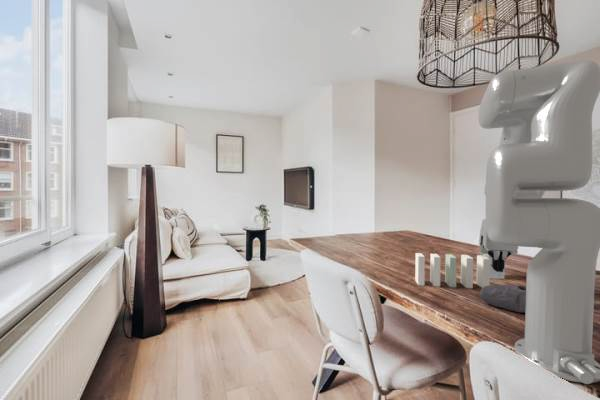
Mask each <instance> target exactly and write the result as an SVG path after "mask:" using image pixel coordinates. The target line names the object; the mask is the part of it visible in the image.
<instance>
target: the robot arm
mask: <svg viewBox="0 0 600 400" xmlns="http://www.w3.org/2000/svg"><path fill="white" fill-rule="evenodd" d="M599 95H600V65H599V64H598V63H597V62H595V61H593V60H576V61H567V62H559V63H552V64H545V65H540V66H539V65H538V66H534V67H526V68H525V67H524V68H518V69H511V70H507V71H502V72H499V73H497V74H495V75H494V76H493V77H492V78H491V80H490V81H489V83H488V86H487V88H486V90H485V92H484V95H483V97H482V99H481V101H480V104H479V110H478V123H479V126H480V127H481V128H483V129H488V130H490V129H491V130H492V129H501V128H502V132H501V136H500V139H499V140H500V141H499V145H498V146H497V147H495V148H494V149H493V150H492V151H491V152H490V154H489V156H488V159H487V162H486V168H485V169H486V170H485V172H486V173H485V186H484V195H485V219H484V218H483V219H482V221H481V225H480V230H479V239H478V244H479V247H480V249H479V252H481V254H482V253H485V254H488V255H490V256H491V258H492V268H493V269H494V270H495V271H497V272H503V269H504V264H505V262H506V260H507V259H508V258H509V257H510V256H512V255H518V254H519V253H518V252H519V250H518V249H519V247H523V248H524V247H527V248H538V249H540V250H539V252H537V253H536V254H535V256H533V258H532V259H531V260H530V261H529V263H528V266H527V268H526V281H525V282H526V284H525V287H526V310H525V314H524V315H525V316H524V317H525V318H524V319H525V320H524V338H521V339H519V340H517V341H516V342H515V343H514V351H515V354H516V353H517V354H519V355H521V356H523V357H524V358H526V359H528V360H529V361H531V362H533V363H535V364H537V365H539V366H541V367H543V368H545V369H546V370H548V371H550V372H552V373H554V374H555V375H557V376H559V377H561V378H563V379H562V380H565V381H569V382H574V383H583V384H586V385H589V384H593V383H599V382H600V363H599V362H597V360H595V356H596V355H595V354H593V352H592V350H593V331H594V330H593V329H594V310H595V309H594V307H595V288H596V287H595V286H596V272H597V264H598V263H597V262H598V257H599V252H600V206H598V205H596V204H595V203H593V202H590V201H587V200H584V199H578V198H571V197H570V198H569V197H568V198H566V197H565V198H564V197H543V196H544V195H545V192H562V191H563V192H565V191H574V190H578V189H581V188H584V187H585V186H587V184H588V183H589V181H590V179H591V177H592V172H593V121H592V120H593V111H594V109H595V105H596V102H597V100H598V98H599ZM497 251H499V256H498V252H497ZM517 354H516V355H517ZM561 378H560V379H561Z"/></svg>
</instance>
